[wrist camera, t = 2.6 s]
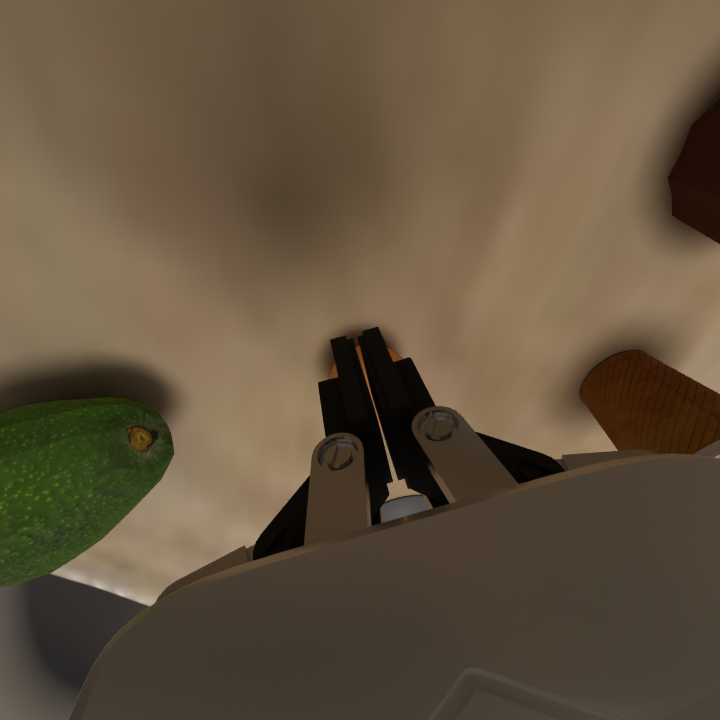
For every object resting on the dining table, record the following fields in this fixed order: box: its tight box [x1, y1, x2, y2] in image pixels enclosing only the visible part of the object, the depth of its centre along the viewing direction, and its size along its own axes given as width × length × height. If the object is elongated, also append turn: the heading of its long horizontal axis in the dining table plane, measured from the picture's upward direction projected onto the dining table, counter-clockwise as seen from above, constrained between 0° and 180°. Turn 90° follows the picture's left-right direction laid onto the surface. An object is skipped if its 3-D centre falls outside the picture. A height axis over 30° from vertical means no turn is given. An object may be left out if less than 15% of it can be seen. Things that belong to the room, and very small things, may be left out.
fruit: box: [0, 397, 174, 587], centre depth 22 cm, size 15×10×10 cm, turn 108°
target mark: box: [381, 495, 429, 522], centre depth 42 cm, size 12×12×1 cm
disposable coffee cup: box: [581, 350, 720, 459], centre depth 28 cm, size 10×10×12 cm
